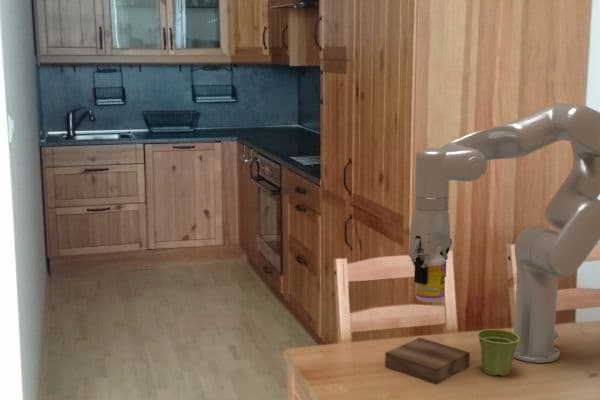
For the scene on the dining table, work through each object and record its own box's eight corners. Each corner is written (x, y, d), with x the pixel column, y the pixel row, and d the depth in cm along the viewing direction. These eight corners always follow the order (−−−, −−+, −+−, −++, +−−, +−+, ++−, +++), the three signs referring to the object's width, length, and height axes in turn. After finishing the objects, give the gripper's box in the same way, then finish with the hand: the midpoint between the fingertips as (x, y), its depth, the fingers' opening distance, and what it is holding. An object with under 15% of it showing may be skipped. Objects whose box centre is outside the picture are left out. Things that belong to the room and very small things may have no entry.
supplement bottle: (444, 304, 170) (445, 248, 168) (414, 302, 172) (415, 247, 169) (444, 295, 177) (445, 241, 175) (416, 293, 178) (416, 240, 176)
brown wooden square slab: (419, 351, 187) (419, 337, 186) (469, 366, 177) (469, 352, 177) (385, 366, 177) (385, 352, 176) (435, 384, 167) (436, 369, 167)
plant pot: (489, 360, 181) (491, 325, 180) (524, 371, 175) (527, 335, 173) (467, 371, 175) (469, 335, 173) (503, 383, 168) (506, 346, 167)
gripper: (439, 196, 179) (437, 269, 182) (395, 207, 167) (394, 285, 170) (466, 200, 174) (464, 275, 177) (423, 211, 162) (422, 291, 165)
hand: (430, 279), depth 173 cm, fingers closed on supplement bottle, 6 cm apart
